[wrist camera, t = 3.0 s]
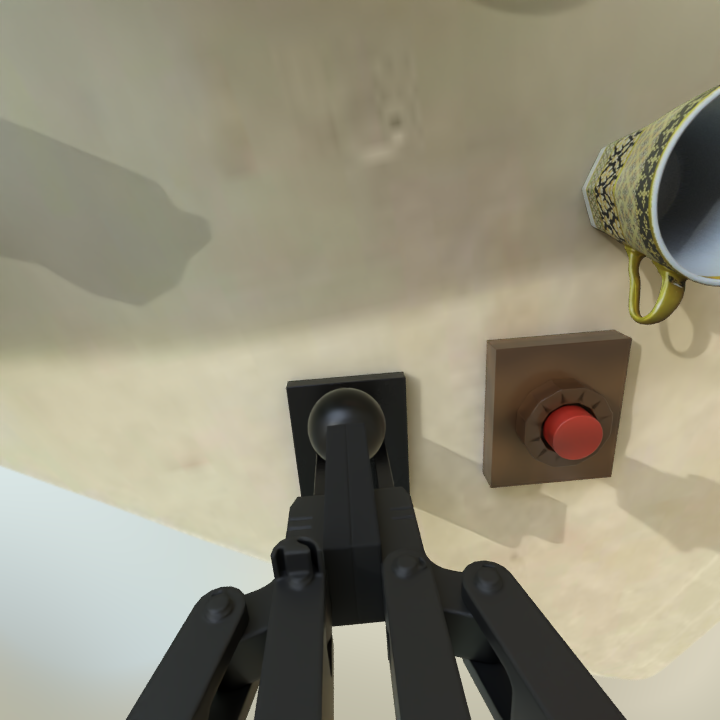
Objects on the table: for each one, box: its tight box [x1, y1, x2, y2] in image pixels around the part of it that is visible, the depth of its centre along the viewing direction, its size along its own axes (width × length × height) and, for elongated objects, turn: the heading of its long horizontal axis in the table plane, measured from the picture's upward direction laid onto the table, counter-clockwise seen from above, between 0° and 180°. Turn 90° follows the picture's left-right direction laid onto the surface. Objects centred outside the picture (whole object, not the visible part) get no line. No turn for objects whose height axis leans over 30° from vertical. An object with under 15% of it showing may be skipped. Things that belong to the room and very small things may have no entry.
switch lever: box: [308, 388, 386, 460], centre depth 22 cm, size 13×3×3 cm, turn 4°
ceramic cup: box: [582, 85, 720, 325], centre depth 27 cm, size 13×10×10 cm
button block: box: [483, 330, 632, 488], centre depth 35 cm, size 12×10×4 cm
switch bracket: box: [286, 372, 410, 497], centre depth 30 cm, size 12×9×15 cm
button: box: [543, 405, 603, 460], centre depth 33 cm, size 4×4×2 cm
